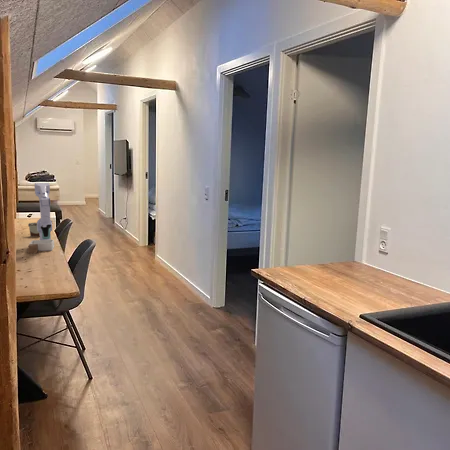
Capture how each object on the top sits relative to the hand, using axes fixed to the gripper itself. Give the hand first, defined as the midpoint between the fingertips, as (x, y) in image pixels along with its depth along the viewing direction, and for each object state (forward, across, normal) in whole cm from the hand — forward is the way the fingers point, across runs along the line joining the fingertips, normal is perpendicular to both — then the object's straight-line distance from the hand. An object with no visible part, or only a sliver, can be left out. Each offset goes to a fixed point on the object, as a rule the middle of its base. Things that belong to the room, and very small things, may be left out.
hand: (46, 236), depth 300 cm
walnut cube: (+9, +10, -7) cm, 15 cm away
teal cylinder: (+2, 0, 0) cm, 2 cm away
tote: (+9, 0, -3) cm, 9 cm away
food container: (+9, -50, -13) cm, 52 cm away
